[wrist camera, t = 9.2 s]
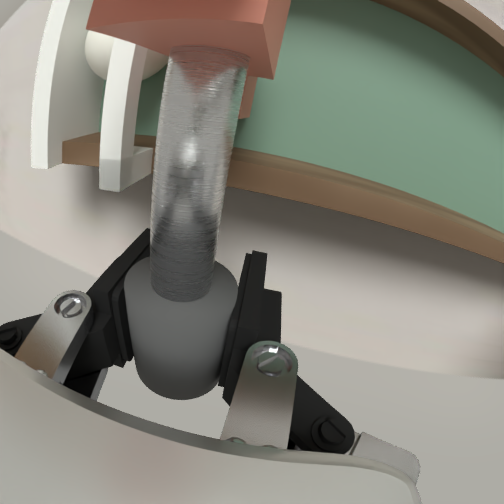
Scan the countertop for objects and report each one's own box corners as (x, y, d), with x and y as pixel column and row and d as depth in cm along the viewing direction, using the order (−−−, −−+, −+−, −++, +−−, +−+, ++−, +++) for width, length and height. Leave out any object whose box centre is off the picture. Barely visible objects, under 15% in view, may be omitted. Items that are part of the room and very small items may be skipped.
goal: (115, -30, 7) (56, -60, 2) (219, -42, 7) (189, -100, 2) (81, 149, 12) (9, 176, 8) (177, 159, 13) (119, 192, 8)
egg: (79, 4, 6) (136, -23, 5) (144, 16, 9) (207, 5, 8) (62, 86, 8) (111, 80, 7) (130, 85, 11) (189, 86, 10)
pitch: (123, -25, 8) (85, -47, 4) (580, 157, 8) (609, 172, 5) (91, 145, 13) (45, 161, 10) (545, 267, 14) (569, 292, 10)
